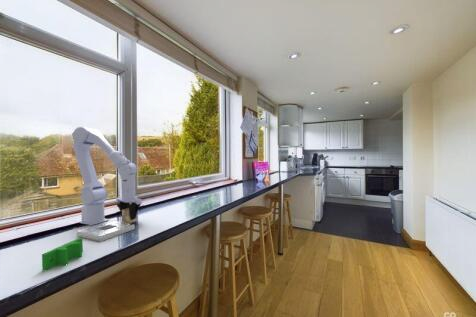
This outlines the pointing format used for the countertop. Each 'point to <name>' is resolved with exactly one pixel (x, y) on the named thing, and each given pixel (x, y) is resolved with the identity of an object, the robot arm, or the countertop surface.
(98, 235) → the grey square plate
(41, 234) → the countertop surface
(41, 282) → the countertop surface
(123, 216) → the maple wedge
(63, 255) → the green boxy piece
